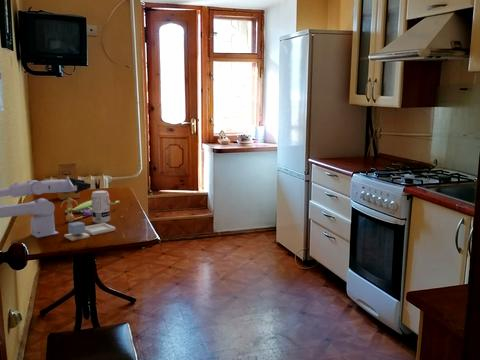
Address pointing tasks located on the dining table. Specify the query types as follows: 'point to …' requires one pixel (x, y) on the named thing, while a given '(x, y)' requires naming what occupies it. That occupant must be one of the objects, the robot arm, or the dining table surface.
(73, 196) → the coffee package
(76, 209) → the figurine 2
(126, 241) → the dining table surface
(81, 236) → the post stand
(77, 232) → the pale blue cube
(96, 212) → the supplement can
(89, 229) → the tray
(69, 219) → the figurine
